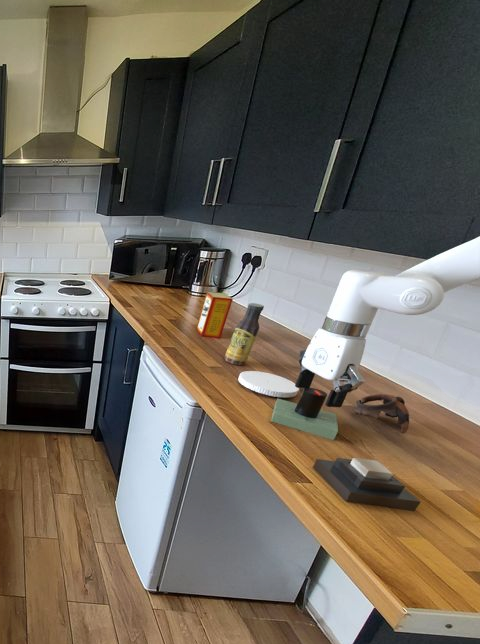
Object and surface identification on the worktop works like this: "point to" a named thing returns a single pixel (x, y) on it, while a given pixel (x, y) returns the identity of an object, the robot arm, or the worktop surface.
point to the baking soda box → (214, 314)
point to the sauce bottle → (244, 336)
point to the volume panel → (305, 420)
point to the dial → (310, 402)
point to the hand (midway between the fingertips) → (316, 396)
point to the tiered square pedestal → (364, 486)
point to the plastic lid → (268, 384)
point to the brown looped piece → (385, 408)
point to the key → (371, 469)
